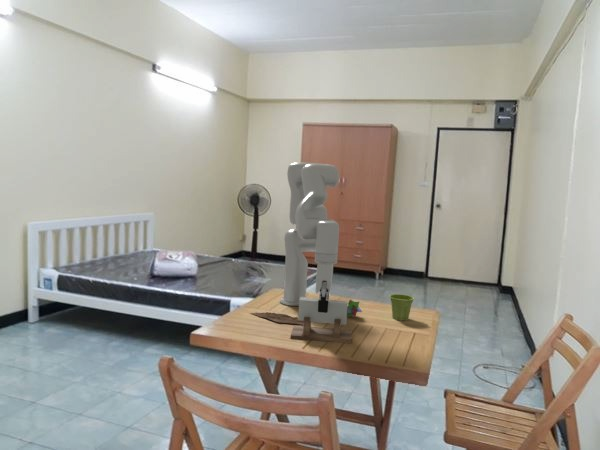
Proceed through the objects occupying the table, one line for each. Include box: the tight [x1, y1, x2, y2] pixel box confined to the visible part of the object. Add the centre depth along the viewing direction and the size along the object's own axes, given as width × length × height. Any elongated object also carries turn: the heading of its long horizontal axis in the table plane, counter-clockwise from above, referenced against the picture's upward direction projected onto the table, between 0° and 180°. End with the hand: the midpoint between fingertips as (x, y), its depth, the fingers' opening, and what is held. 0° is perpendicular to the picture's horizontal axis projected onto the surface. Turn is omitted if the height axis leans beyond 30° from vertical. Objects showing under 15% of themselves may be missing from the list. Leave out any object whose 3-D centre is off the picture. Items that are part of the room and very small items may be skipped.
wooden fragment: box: [249, 311, 304, 326], centre depth 177 cm, size 26×11×1 cm, turn 59°
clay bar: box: [297, 297, 349, 326], centre depth 160 cm, size 4×16×7 cm, turn 83°
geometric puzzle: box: [347, 299, 363, 320], centre depth 185 cm, size 7×7×8 cm
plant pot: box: [389, 293, 415, 321], centre depth 187 cm, size 9×9×9 cm
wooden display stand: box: [289, 317, 353, 344], centre depth 160 cm, size 11×20×7 cm, turn 85°
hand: (323, 308), depth 160 cm, fingers open, 9 cm apart
